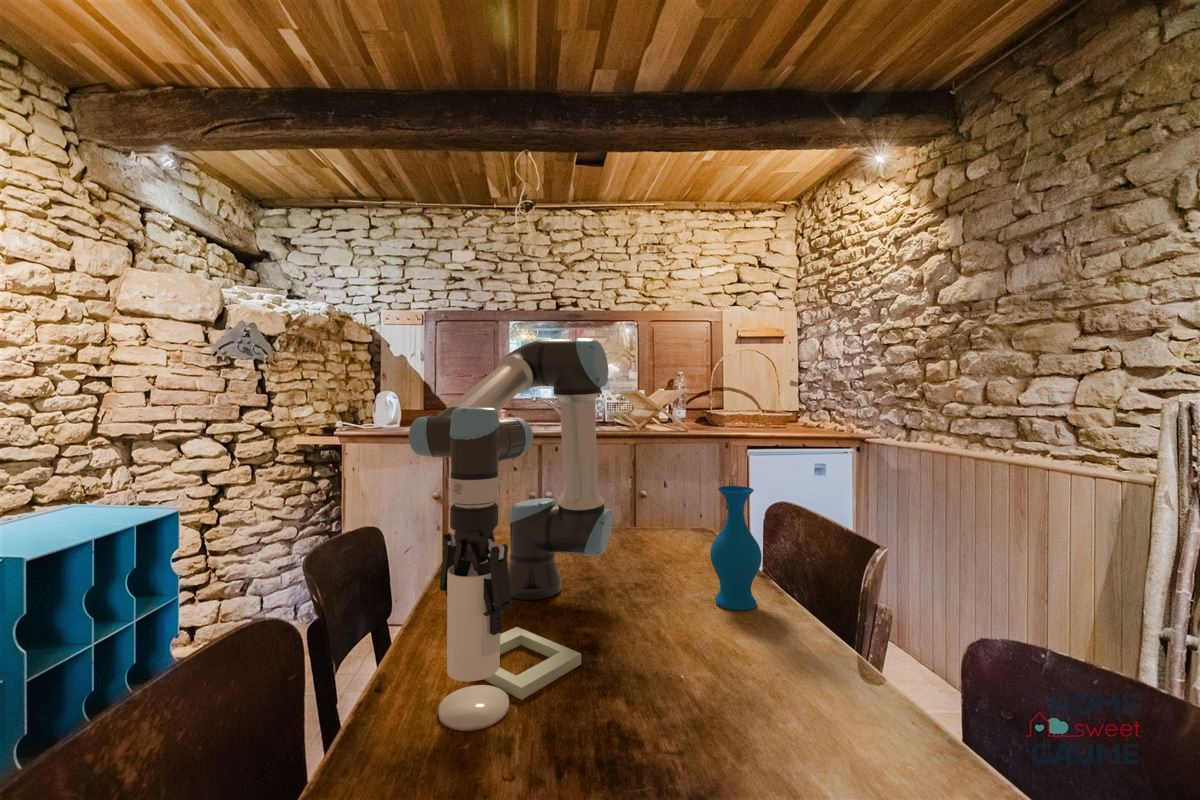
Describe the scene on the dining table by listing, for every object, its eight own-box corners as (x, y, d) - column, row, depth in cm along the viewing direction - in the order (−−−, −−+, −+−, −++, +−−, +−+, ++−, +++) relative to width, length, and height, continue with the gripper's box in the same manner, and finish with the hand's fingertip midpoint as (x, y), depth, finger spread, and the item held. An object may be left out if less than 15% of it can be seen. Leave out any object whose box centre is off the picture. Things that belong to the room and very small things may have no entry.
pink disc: (424, 711, 83) (424, 706, 83) (480, 682, 92) (480, 678, 92) (466, 740, 76) (466, 735, 76) (523, 706, 85) (523, 701, 85)
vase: (762, 597, 131) (762, 486, 131) (760, 617, 119) (760, 495, 119) (713, 591, 135) (713, 483, 135) (707, 610, 123) (707, 491, 123)
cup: (487, 684, 79) (487, 578, 79) (437, 678, 81) (437, 575, 81) (507, 658, 87) (507, 562, 87) (461, 653, 89) (462, 559, 89)
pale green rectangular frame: (456, 664, 98) (456, 653, 98) (516, 636, 109) (516, 626, 109) (521, 699, 86) (521, 687, 86) (581, 664, 98) (581, 653, 98)
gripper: (417, 498, 87) (416, 633, 87) (498, 516, 74) (498, 676, 74) (455, 492, 93) (454, 619, 93) (536, 508, 80) (536, 656, 80)
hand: (473, 644), depth 84 cm, fingers closed on cup, 8 cm apart
